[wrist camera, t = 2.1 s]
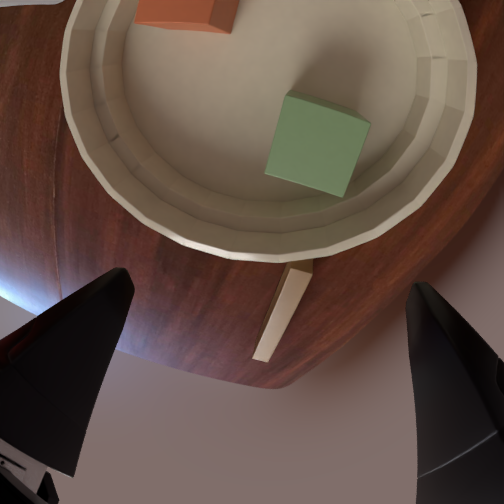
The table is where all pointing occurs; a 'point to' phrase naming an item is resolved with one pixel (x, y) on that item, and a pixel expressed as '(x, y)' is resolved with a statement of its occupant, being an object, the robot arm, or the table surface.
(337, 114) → the sage block
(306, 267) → the long tan beam
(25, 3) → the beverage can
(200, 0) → the terracotta block
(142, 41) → the bowl
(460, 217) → the table surface
